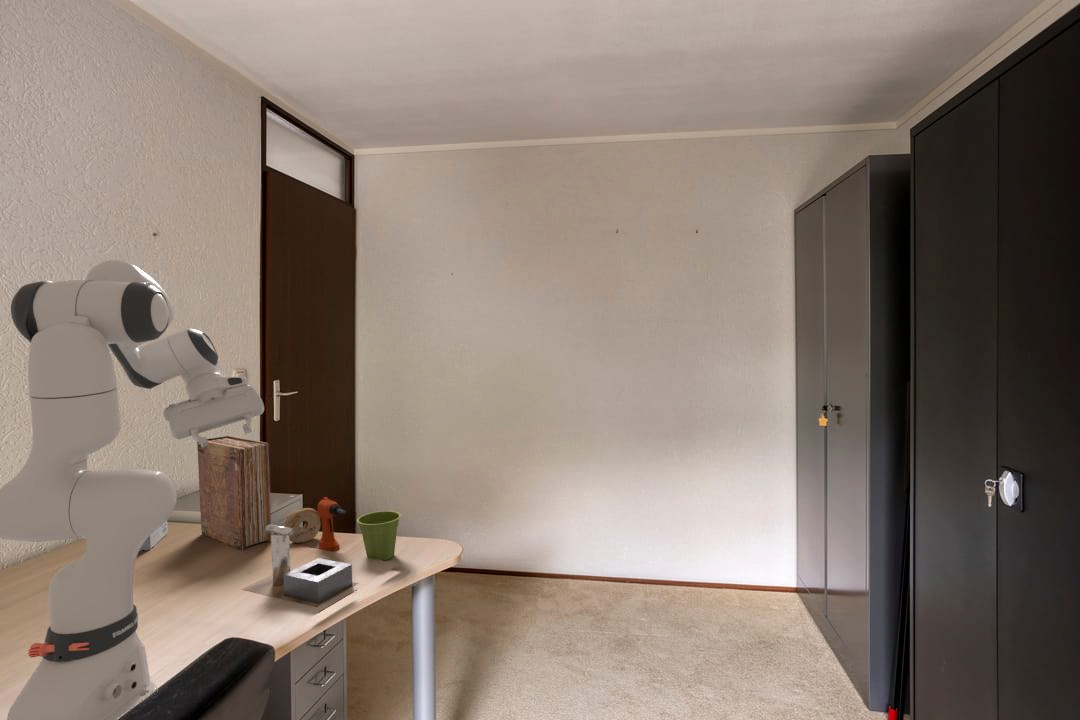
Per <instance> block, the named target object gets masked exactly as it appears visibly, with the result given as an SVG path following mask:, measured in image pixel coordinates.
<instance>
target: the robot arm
mask: <svg viewBox="0 0 1080 720" xmlns="http://www.w3.org/2000/svg"><path fill="white" fill-rule="evenodd" d="M174 311H175V310H174V305H173V303H172V300H171V299H170V297H169V295H168V294H167V292H166V291H165V289H164V288H162V286H161V285H160V284H159V283H158V282H157V281H156V280H155V279H154V278H153V277H151V276H150V274H148V273H146V272H145V271H143V270H142V269H141V268H139V267H137V266H136V265H134V264H132V263H130V262H128V261H125V260H120V259H119V260H118V259H111V260H104V261H102V262H99V263H97V264H95V265H94V266H93V267H92V268H91V269H90V270H89V271H88V272H87V275H86V276H85V279H74V280H72V279H71V280H59V281H58V280H57V281H51V280H42V281H35V282H30V283H27V284H24V285H22V286H21V287H20V288H19V289H18V290H17V292H16V293H15V294H14V296H13V297H12V301H11V304H10V316H11V319H12V322H13V325H14V326H15V328H16V329H17V331H18V332H19V333H20V335H21V336H22V337H23V338H24V339H26V340H27V341H28V342H29V343H30V347H29V353H28V365H27V366H28V368H27V369H28V370H27V383H28V385H27V386H28V393H29V394H28V395H29V401H30V411H31V425H32V427H31V428H32V442H31V450H30V452H29V455H28V458H27V459H26V461H25V464H24V465H23V467H22V468H21V469H20V471H19V472H18V473H17V474H15V476H14V477H13V478H11V479H10V480H9V481H8V482H6V483H5V484H4V485H2V486H1V487H0V539H3V540H9V541H16V542H27V543H42V542H43V543H44V542H56V541H67V540H69V541H70V540H79V539H84V540H85V542H86V548H85V550H86V551H85V553H84V555H81V556H80V557H78V558H76V559H74V560H72V561H70V562H68V563H67V564H66V565H63V567H61V568H60V569H59V570H58V571H57V572H56V573H55V574H54V576H53V577H52V579H51V581H50V583H49V585H48V588H47V589H48V604H49V605H48V606H49V609H48V610H49V623H50V626H48V628H47V630H46V635H45V637H44V642H43V643H41V642H34V643H32V644H31V645H30V647H29V649H28V653H27V654H28V657H30V658H36V657H42V658H41V660H40V662H39V663H38V665H37V666H36V668H35V670H33V672H32V674H31V676H30V678H28V679H27V682H26V684H25V685H24V687H23V688H22V689H21V691H20V692H19V694H18V695H17V696H16V699H15V700H14V701H13V703H12V705H11V706H10V707H9V710H8V712H7V718H6V720H117V718H118V717H120V716H121V715H122V714H124V713H125V712H127V711H128V710H130V709H131V708H132V707H134V706H135V705H136V704H137V703H139V702H140V701H142V700H143V699H144V698H146V697H147V696H148V695H149V694H151V693H152V692H153V691H154V690H156V689H157V690H158V688H157V685H156V684H154V683H152V682H151V678H150V672H149V665H148V659H147V653H146V648H145V645H144V644H143V643H142V642H141V639H140V638H139V636H138V633H137V629H138V627H139V625H138V620H139V613H138V609H137V606H136V605H135V604H134V571H135V564H136V560H137V557H138V554H139V552H140V551H139V550H140V548H141V547H142V545H143V543H144V542H145V541H146V539H147V538H148V537H149V536H150V535H151V534H152V533H153V532H154V531H155V530H156V529H158V528H159V527H160V526H162V525H163V524H164V523H165V522H166V521H167V522H168V520H169V519H170V517H171V516H172V515H173V512H174V510H175V508H176V505H177V500H178V495H177V494H178V493H177V492H178V491H177V487H176V485H175V483H174V482H173V479H171V477H170V476H169V474H167V473H165V472H163V471H159V470H151V469H144V468H124V469H123V468H121V469H109V470H108V469H107V470H106V469H105V470H89V469H88V466H87V465H88V457H89V455H91V454H93V453H95V452H97V451H99V450H101V449H103V448H105V447H106V446H108V445H110V444H111V443H112V442H114V441H115V439H116V438H117V437H118V435H119V433H120V431H121V427H122V425H121V413H120V407H119V406H120V403H119V394H118V386H117V385H118V384H117V377H116V371H115V367H114V362H113V360H112V359H113V358H112V356H111V352H112V354H113V356H114V357H115V358H116V360H117V361H118V363H119V364H120V366H121V367H122V370H123V372H124V374H125V377H126V379H128V380H129V381H130V383H132V384H133V385H134V386H135V387H138V388H142V389H147V390H150V389H151V390H152V389H154V388H155V387H157V386H159V385H161V384H163V383H164V382H167V381H170V380H173V379H174V378H178V377H179V376H181V379H182V380H183V382H184V383H185V390H186V393H187V395H188V399H186V400H182V401H180V402H177V403H172V404H169V405H168V407H166V408H165V409H164V410H163V416H164V419H165V420H166V421H168V423H169V429H170V432H171V435H172V438H174V439H176V440H182V439H185V438H189V437H191V438H192V439H193V440H194V441H196V442H197V441H198V442H200V444H201V447H206V446H209V445H208V441H207V439H208V438H207V436H200V435H199V434H201V433H205V432H207V431H211V430H214V429H218V428H221V427H225V426H227V425H231V424H235V423H238V422H241V421H245V422H246V423H245V424H243V425H242V430H243V431H244V435H246V434H250V433H252V426H251V424H252V422H253V418H254V417H257V416H260V415H263V413H264V411H265V405H264V402H263V399H262V398H261V396H260V394H259V393H258V391H257V390H256V389H255V388H254V387H253V386H252V385H250V384H249V381H248V379H247V377H245V376H224V375H223V374H222V369H221V366H220V365H221V364H220V363H219V355H218V353H217V350H216V348H215V346H214V344H213V341H212V340H211V338H210V337H209V336H208V335H207V333H205V332H203V331H200V330H198V329H195V328H190V327H189V328H185V329H182V330H180V331H177V332H174V333H171V334H169V335H166V336H164V337H161V336H162V335H163V334H164V333H165V331H166V330H167V329H168V328H169V326H170V325H171V323H172V322H173V318H174ZM160 337H161V338H160ZM146 342H148V343H146ZM144 343H145V344H144ZM110 350H111V352H110Z"/></svg>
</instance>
